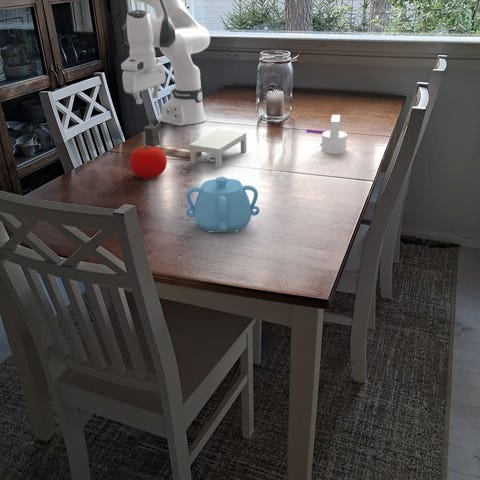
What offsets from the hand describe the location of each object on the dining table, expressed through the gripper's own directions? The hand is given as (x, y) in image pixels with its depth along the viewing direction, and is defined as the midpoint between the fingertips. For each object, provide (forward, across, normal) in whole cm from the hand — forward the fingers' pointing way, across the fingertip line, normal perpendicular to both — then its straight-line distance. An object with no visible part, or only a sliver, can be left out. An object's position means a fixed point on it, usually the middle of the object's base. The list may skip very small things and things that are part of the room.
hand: (147, 100), depth 187 cm
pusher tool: (+19, 0, +9) cm, 21 cm away
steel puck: (+19, 0, +27) cm, 33 cm away
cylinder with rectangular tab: (+19, -29, +62) cm, 71 cm away
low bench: (+19, -4, +27) cm, 33 cm away
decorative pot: (+19, +42, +55) cm, 72 cm away
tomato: (+19, +22, +15) cm, 33 cm away
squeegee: (+20, -46, +50) cm, 70 cm away
